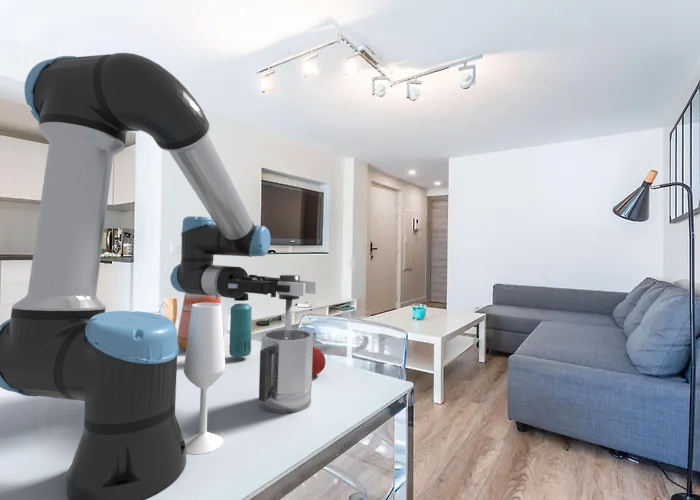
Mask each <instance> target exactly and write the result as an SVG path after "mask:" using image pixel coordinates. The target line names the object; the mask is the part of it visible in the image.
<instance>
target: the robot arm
mask: <svg viewBox="0 0 700 500" xmlns="http://www.w3.org/2000/svg"><path fill="white" fill-rule="evenodd" d="M24 98H25V103H26V105H27V106H29V107H30V108H31V110H30V113H31V115H32V116H33V117H34V119H36V122H37V121H38V131H39V133H41V134H42V135H41V136H43V137H44V138H45V139H46V141H48V149H47V155H46V164H45V169H44V176H43V177H44V178H43V184H42V192H41V198H40V199H41V200H40V206H39V212H38V218H37V225H36V226H37V227H36V233H35V241H34V249H33V255H32V260H31V269H30V275H29V283H28V287H27V288H28V289H27V294H26V295H25V296H24V297H22V298H21V299H20V300H18V301H17V302H15V303H14V304H13V305H12V307H11V311H10V312H11V313H10V317H9V319H7V320H5V321H4V322H2V323H1V324H0V388H1V389H3V390H5V391H7V392H8V391H9V392H13V393H17V394H20V395H22V396H25V397H44V398H45V397H46V398H52V399H62V400H71V401H79V402H80V401H81V402H84V416H83V417H84V418H83V420H84V421H83V432H82V435H81V438H80V439H79V442H78V444H77V448H76V450H75V453H74V456H73V458H72V462H71V463H70V466H69V468H68V471H67V475H66V495H67V497H68V499H69V500H143V499H146V498H148V497H150V496H153V495H155V494H157V493H159V492H160V491H162V490H165V489H166V488H167V487H168V486H170V485H172V484H173V483H174V482H175V481H177V479H179V477H180V476H181V474H183V472H184V470H185V467H186V465H187V453H186V445H185V440H184V438H183V434H182V431H181V427H180V424H179V421H178V419H177V415H176V396H177V376H178V375H177V372H178V354H179V348H180V346H179V345H178V343H177V334H178V329H177V327H176V325H175V323H174V322H173V321H172V320H171V319H170V318H168V317H167V316H164V315H161V314H158V313H153V312H148V311H129V310H114V311H113V310H112V311H106V305H105V304H104V303H103V302H102V301H101V300H100V299H99V298H98V296H97V292H98V291H97V290H98V282H99V274H100V266H101V259H102V251H103V250H102V249H103V242H104V233H105V227H106V218H107V209H108V203H109V202H108V200H109V194H110V193H109V192H110V184H111V177H112V168H113V159H114V156H116V155H118V154H120V153H122V152H123V151H124V150H125V147H126V142H127V134H128V132H138V131H139V132H140V131H141V132H143V133H145V134H147V135H149V136H150V137H151V138H152V139H153V140H154V142H155V143H156V144H157V146H158V147H159V149H162V150H164V151H166V152H168V153H169V154H170V156H171V157H172V158H173V160H174V162H175V163H176V164H177V166H178V167H179V169H180V171H181V173H182V174H183V176H184V177H185V178H186V180H187V182H188V184H189V185H190V186H191V188H192V190H193V191H194V192H195V194H196V196H197V197H198V199H199V201H200V202H201V204H202V205H203V207H204V208H205V210H206V212H207V213H208V214H209V216H210V217H209V216H197V215H195V216H193V215H192V216H191V215H190V216H186V217H184V218H183V219H182V228H181V234H180V236H181V247H180V248H181V254H180V255H181V256H180V257H181V260H180V264H177V265H176V266H174V268H173V269H172V272H171V274H170V277H169V278H170V280H169V281H170V284H171V286H172V287H173V288H174V289H175V290H176V291H177V292H179V293H184V294H185V293H188V294H198V295H209V296H215V298H216V299H218V298H219V297H220V298H226V299H227V298H228V299H234V298H240V297H242V296H243V295H244V294H245V293H248V294H259V295H264V296H265V295H266V296H267V295H269V294H270V298H276V297H277V295H279V294H282V295H292V296H299V297H306V294H308V295H310V294H311V295H318V281H315V280H301V279H300V283H295V282H282V281H280V277H271V276H265V275H263V276H262V275H257V274H248V272H247V271H246V270H245V268H243V267H241V266H231V265H230V266H229V265H219V264H214V256H234V257H235V256H236V257H249V258H252V257H263V256H266V255H267V254H268V252H269V250H270V247H271V233H270V230H269V229H268V228H267V227H266V226H265V225H259V224H257V225H255V224H254V222H253V220H252V218H251V216H250V214H249V212H248V211H247V208H246V206H245V205H244V202H243V201H242V198H241V197H240V194H239V193H238V190H237V188H236V187H235V184H234V183H233V181H232V179H231V177H230V175H229V173H228V171H227V169H226V166H225V165H224V163H223V161H222V160H221V159H222V158H221V157H220V155H219V153H218V152H217V149H216V147H215V145H214V143H213V141H212V140H211V137H210V135H209V132H210V129H211V127H210V123H209V120H208V119H207V116H206V115H205V113H204V111H203V109H202V107H201V105H200V104H199V103H198V102H197V100H196V98H195V97H194V96H193V95H192V93H191V92H190V91H189V90H188V89H187V88H186V87H185V85H184V84H183V83H182V82H181V81H180V80H179V79H177V77H176V76H175V75H173V74H172V73H171V72H170V71H168V70H167V69H165V67H163V66H161V65H160V64H159V63H157V62H155V61H154V60H151V59H149V58H147V57H145V56H142V55H140V54H135V53H130V52H116V53H110V54H109V53H108V54H96V55H95V54H94V55H85V56H84V55H83V56H74V55H63V56H57V57H54V58H50V59H46V60H43V61H40V62H38V63H37V64H35V65H34V66H33V67H32V68H31V69H30V71H29V72H28V73H27V76H26V79H25V81H24Z"/></svg>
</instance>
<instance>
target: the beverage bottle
mask: <svg viewBox="0 0 700 500" xmlns="http://www.w3.org/2000/svg"><path fill="white" fill-rule="evenodd" d="M233 300H234V301H237V302H245V301H249V293H245V294H244V295H243V296H242V297H240V298H233ZM252 311H253V307H252V306H251V305H250V304H249V303H235V304H233V305H232V306H231V307H230V322H229V324H230V327H229V342H228V343H229V344H228V345H229V346H228V350H229V351H228V352H229V355H230V356H231V357H234V358H235V357H237V358H241V357H248V356H250V355H251V353H252V326H253V325H252V324H253V322H252V321H253V320H252Z"/></svg>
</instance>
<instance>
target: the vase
mask: <svg viewBox="0 0 700 500" xmlns="http://www.w3.org/2000/svg"><path fill="white" fill-rule="evenodd" d="M221 300H222V299H221V297H219V298H218V299H216V298H215V296H209V295H198V294H188V293H184V297H183V303H182V308H181V312H180V319H179V324H178V329H177V343H178V347H179V348H180V349H183V350H185V351H186V347H187V339H188V332H189V324H190V316H191V308H192V305H193V304H197V303H220V304H221V305H222V303H221ZM222 323H223V324H224V321H223V318H222ZM223 338H224V339H225V330H224V327H223Z"/></svg>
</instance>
